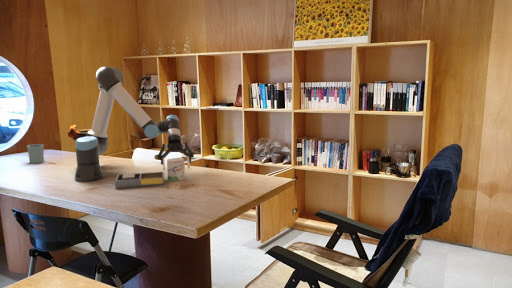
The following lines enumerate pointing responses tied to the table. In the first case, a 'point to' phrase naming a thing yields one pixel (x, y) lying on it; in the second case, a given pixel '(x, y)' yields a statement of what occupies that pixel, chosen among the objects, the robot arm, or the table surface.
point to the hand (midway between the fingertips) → (176, 168)
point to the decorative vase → (78, 135)
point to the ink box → (175, 169)
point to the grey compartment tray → (139, 180)
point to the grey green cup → (36, 153)
